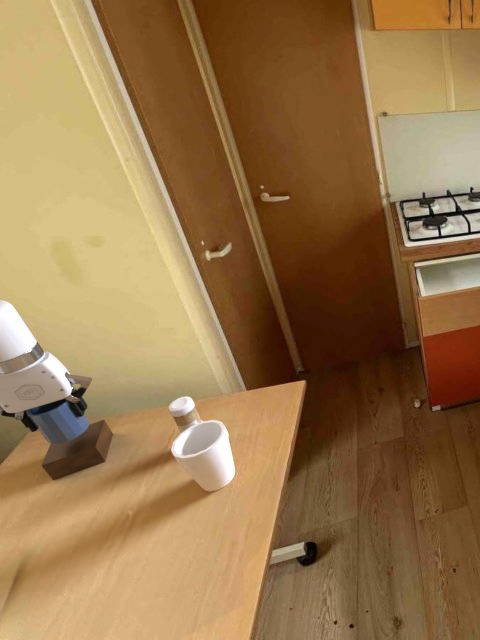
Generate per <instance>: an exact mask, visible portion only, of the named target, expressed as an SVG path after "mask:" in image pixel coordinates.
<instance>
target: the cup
mask: <svg viewBox="0 0 480 640" xmlns="http://www.w3.org/2000/svg"><path fill="white" fill-rule="evenodd" d="M71 403H72V402H71V401H68V400H66V399H61V400H58V401H55V402H52V403H48V404H45V405H42V406H38V407H35V408H31V409H28V410H27V411H26V413H27V415H28V417H29V418H30V419H31V420H32V422H33V423H34V424H35V426H36V427H37V428H38V430H37V431H39V432H40V434H41V435H42V436H43V438H44V439H45V440H46V442H47V443H48V444H49V445H50V444H53V445H58V444H63V443H66V442H68V441H71V440H73V439H75V438H76V437H78V436H80V435H81V434H82V433H83V432H85V430H86V429H87V428H88V426H89V424H90V422H89V419H88V417H86V415H85V414H84V415H83V416H82V417H78V416H77V414H76V413H75V411H74V410H73V409H72V407H71Z"/></svg>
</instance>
